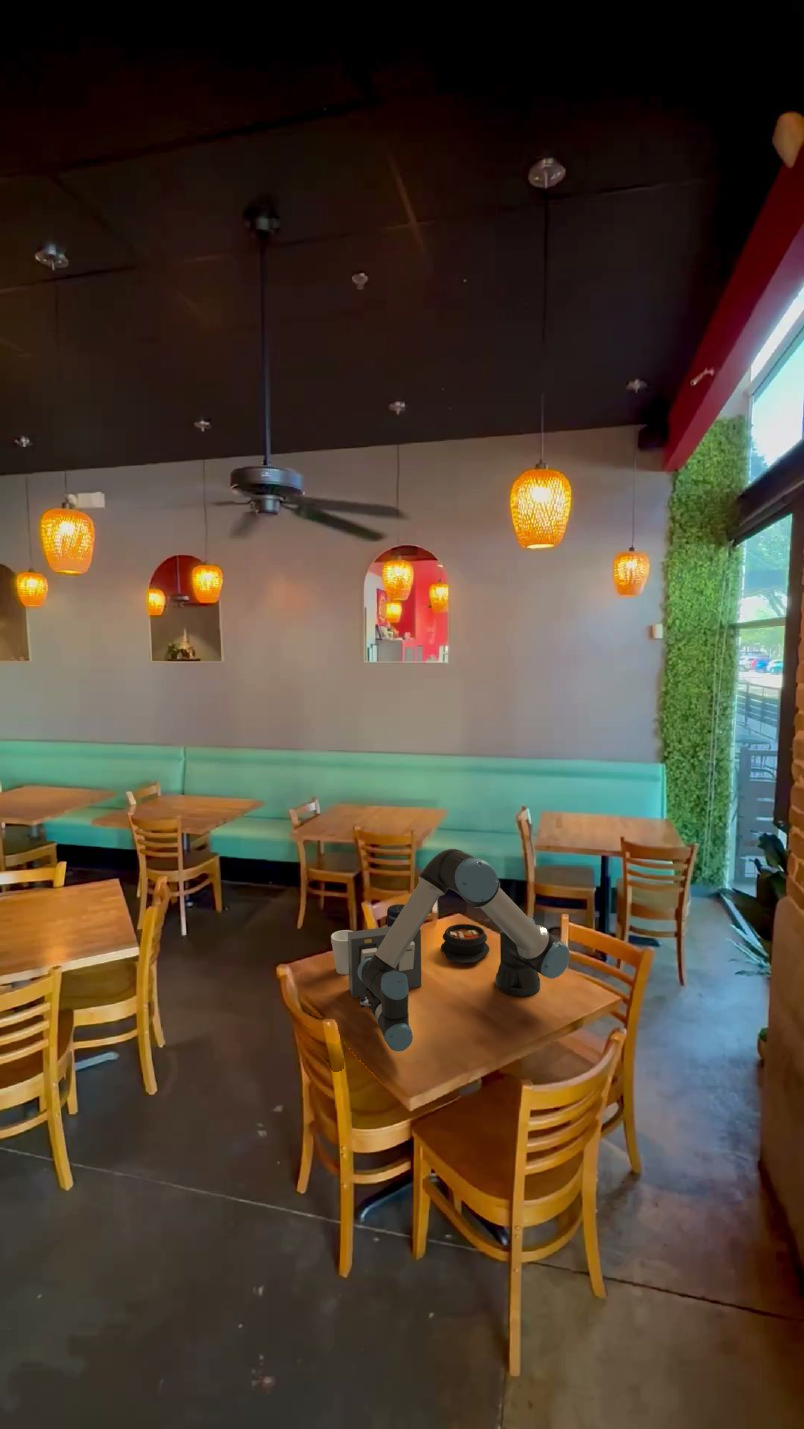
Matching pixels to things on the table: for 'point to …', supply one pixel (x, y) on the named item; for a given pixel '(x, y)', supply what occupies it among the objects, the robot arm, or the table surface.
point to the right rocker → (407, 958)
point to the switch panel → (373, 940)
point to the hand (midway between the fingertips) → (368, 975)
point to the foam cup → (341, 951)
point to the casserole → (464, 943)
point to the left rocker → (368, 953)
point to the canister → (393, 913)
